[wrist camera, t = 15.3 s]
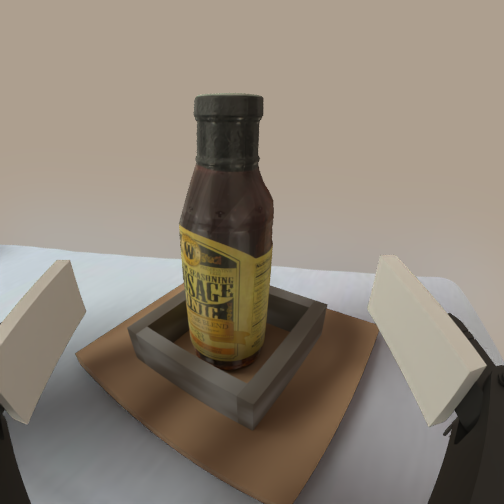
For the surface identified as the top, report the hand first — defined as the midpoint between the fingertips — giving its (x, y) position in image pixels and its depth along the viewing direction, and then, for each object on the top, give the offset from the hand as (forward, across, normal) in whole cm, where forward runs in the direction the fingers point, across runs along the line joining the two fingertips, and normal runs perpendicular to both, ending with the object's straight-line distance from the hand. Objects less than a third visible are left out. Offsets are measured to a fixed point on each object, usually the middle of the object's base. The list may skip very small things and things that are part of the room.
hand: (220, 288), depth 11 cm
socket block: (+8, 0, -14) cm, 16 cm away
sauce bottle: (+8, 0, -12) cm, 15 cm away
